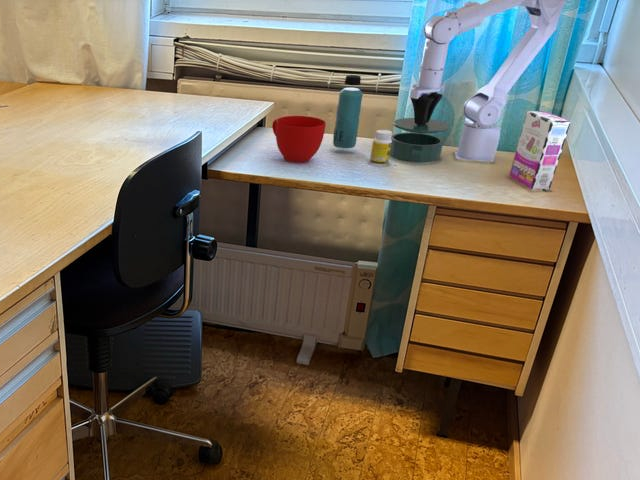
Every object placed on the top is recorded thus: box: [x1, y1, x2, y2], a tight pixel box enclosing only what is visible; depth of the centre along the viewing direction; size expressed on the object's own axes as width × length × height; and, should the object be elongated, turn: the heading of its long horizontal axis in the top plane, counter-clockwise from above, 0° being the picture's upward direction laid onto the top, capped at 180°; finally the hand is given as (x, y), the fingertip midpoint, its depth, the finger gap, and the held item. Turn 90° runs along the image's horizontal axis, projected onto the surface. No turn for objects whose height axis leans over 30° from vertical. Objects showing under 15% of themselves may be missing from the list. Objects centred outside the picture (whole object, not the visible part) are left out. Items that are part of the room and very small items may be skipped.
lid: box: [392, 109, 450, 134], centre depth 187 cm, size 14×14×5 cm
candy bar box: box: [508, 110, 572, 192], centre depth 169 cm, size 11×5×16 cm, turn 5°
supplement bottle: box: [369, 129, 393, 165], centre depth 185 cm, size 5×5×8 cm
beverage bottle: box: [332, 74, 364, 149], centre depth 193 cm, size 6×7×20 cm
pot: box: [389, 132, 444, 163], centre depth 192 cm, size 13×19×5 cm
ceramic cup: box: [271, 115, 327, 164], centre depth 189 cm, size 13×17×10 cm
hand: (421, 123), depth 187 cm, fingers closed on lid, 2 cm apart
